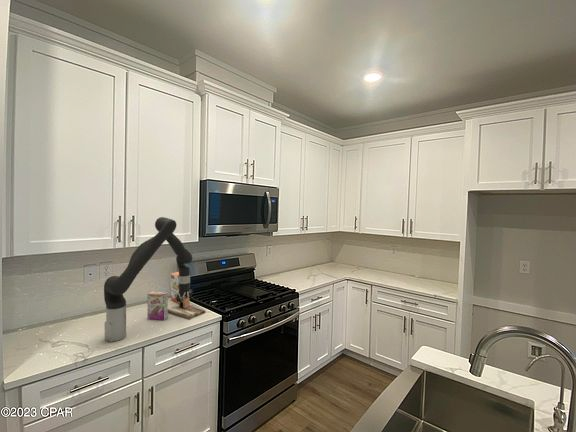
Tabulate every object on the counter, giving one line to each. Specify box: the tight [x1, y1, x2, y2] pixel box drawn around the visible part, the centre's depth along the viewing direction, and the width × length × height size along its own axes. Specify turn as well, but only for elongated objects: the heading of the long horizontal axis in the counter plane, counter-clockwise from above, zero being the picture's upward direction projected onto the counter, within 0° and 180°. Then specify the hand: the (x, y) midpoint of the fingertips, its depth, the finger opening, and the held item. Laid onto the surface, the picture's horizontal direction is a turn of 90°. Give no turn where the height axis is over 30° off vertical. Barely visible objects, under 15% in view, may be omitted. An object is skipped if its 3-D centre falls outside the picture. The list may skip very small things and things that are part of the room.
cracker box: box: [170, 271, 180, 305], centre depth 212 cm, size 14×6×21 cm, turn 49°
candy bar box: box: [147, 291, 169, 321], centre depth 181 cm, size 11×5×16 cm, turn 84°
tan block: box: [178, 297, 191, 308], centre depth 198 cm, size 4×6×6 cm, turn 60°
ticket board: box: [168, 305, 206, 321], centre depth 192 cm, size 14×22×3 cm, turn 60°
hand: (184, 306), depth 198 cm, fingers closed on tan block, 4 cm apart
